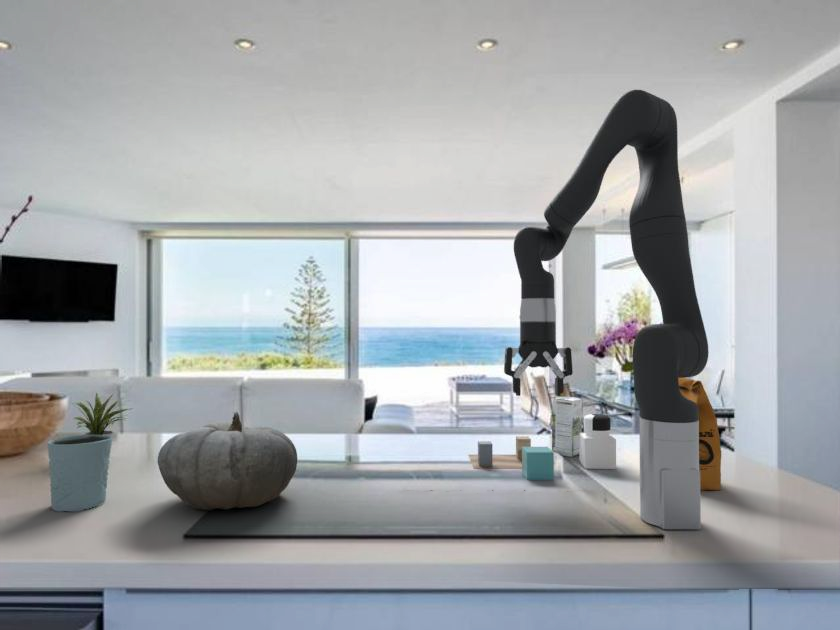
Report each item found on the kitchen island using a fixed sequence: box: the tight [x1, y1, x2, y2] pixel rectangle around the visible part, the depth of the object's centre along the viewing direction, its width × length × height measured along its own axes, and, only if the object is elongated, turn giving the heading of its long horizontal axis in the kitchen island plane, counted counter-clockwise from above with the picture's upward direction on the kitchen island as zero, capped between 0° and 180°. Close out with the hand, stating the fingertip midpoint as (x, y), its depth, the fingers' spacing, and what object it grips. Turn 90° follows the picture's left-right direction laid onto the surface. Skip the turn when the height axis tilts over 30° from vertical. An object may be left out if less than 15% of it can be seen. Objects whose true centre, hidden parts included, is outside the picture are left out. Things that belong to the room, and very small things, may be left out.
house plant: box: [70, 392, 134, 452], centre depth 139 cm, size 14×14×16 cm
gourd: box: [157, 411, 298, 511], centre depth 106 cm, size 25×25×17 cm
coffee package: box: [678, 377, 722, 491], centre depth 118 cm, size 10×12×22 cm
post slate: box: [477, 440, 493, 466], centre depth 130 cm, size 3×3×5 cm
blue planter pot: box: [47, 434, 113, 512], centre depth 104 cm, size 10×10×12 cm
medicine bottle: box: [578, 413, 617, 470], centre depth 133 cm, size 7×7×12 cm
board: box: [468, 435, 532, 470], centre depth 133 cm, size 14×16×6 cm
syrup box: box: [551, 396, 583, 458], centre depth 145 cm, size 6×6×14 cm
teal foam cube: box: [521, 446, 555, 481], centre depth 120 cm, size 6×6×7 cm
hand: (538, 395), depth 120 cm, fingers open, 8 cm apart
